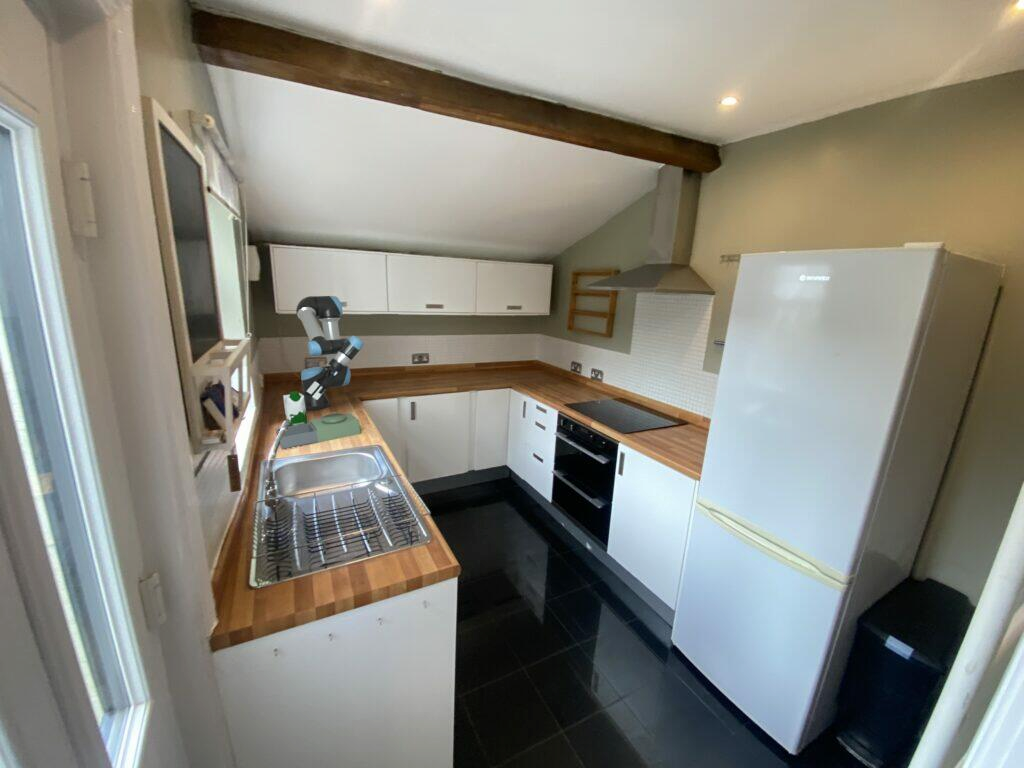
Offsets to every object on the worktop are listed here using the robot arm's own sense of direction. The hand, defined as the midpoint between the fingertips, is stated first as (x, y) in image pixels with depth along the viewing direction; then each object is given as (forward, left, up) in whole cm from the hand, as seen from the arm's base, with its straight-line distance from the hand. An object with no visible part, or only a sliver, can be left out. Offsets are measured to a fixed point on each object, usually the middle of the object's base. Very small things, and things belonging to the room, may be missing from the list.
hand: (311, 395), depth 202 cm
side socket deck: (+1, +16, -17) cm, 23 cm away
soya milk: (+8, -1, -17) cm, 19 cm away
